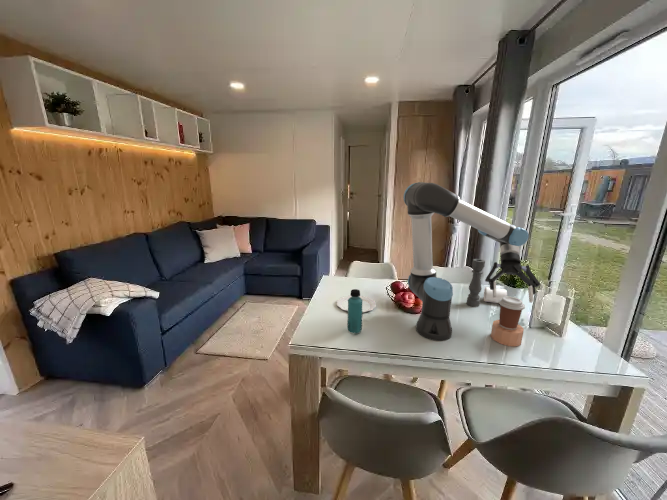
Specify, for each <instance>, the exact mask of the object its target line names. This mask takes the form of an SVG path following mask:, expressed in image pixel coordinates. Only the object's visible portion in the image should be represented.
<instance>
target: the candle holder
mask: <svg viewBox="0 0 667 500" xmlns="http://www.w3.org/2000/svg"><path fill="white" fill-rule="evenodd" d="M485 263H486V260H485V259H482V258H473V259H472V270H471V273H472V278H471V281H470V283H469V285H468V289H469V290H468V291H469V294H467V298H466V305H468V306H470V307H473V308H477V307H480V304H481V303H480V302H481V299H480V298H481V297H480V293H481V292H482V280H481V277H482V275H483V273H484V271H483V270H484V268H485Z"/></svg>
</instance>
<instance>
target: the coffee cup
mask: <svg viewBox="0 0 667 500" xmlns="http://www.w3.org/2000/svg"><path fill="white" fill-rule="evenodd" d="M498 304H499V307H500V308H499V319H498V320H499V325H500V326H501V327H503V328H505V329H508V330H516V329H517V325H519V322H520V318H521V314H522V312H523V310H524V309H525V308H526V307H525V304H524V303H523V300H521V299H520V298H518V297H514V296H508V295H507V296H506V297H503V298H502V299H501V300H499V303H498Z"/></svg>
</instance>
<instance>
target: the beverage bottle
mask: <svg viewBox="0 0 667 500" xmlns="http://www.w3.org/2000/svg"><path fill="white" fill-rule="evenodd" d="M350 295H351V296H352V297H350V298H349V299H348V300H347V310H348V311H347V325H346V326H347V331H348V332H349V333H352V334H359V333H361V332H362V330H363V313H362V311H363V300H362V299H361V298H360V297H359V296H361V291H360V289H356V288H355V289H351V290H350ZM350 295H349V296H350Z"/></svg>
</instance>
